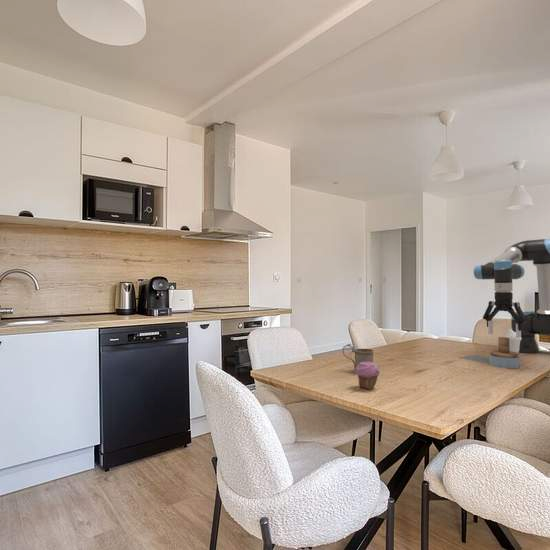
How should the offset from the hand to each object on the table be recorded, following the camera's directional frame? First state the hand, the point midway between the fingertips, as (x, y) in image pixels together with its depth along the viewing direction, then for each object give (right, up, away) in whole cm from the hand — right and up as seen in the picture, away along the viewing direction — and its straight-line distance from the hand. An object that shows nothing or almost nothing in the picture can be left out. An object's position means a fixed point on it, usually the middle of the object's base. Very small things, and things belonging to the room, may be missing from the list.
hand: (504, 335), depth 188 cm
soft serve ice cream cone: (+14, -15, +16) cm, 26 cm away
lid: (0, -9, 0) cm, 9 cm away
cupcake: (-76, -14, -40) cm, 87 cm away
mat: (-4, -15, +16) cm, 22 cm away
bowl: (0, -14, 0) cm, 14 cm away
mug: (-73, -14, -13) cm, 76 cm away
